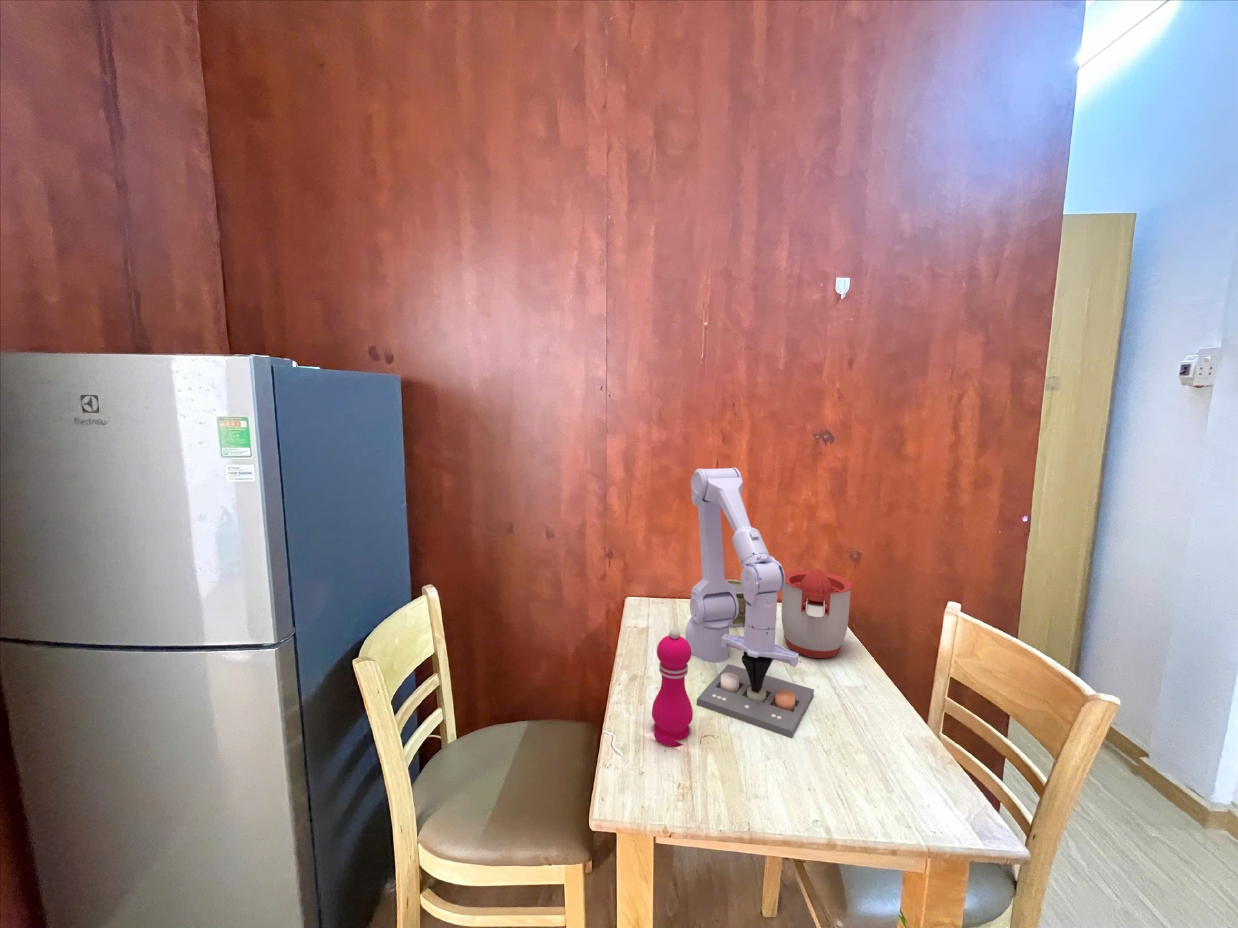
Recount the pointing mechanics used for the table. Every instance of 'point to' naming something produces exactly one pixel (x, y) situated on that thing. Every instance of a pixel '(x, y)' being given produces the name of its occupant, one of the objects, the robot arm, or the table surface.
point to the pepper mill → (672, 691)
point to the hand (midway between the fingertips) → (756, 689)
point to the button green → (757, 695)
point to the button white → (730, 682)
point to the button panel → (757, 702)
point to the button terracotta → (785, 700)
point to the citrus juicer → (815, 612)
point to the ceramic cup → (741, 601)
